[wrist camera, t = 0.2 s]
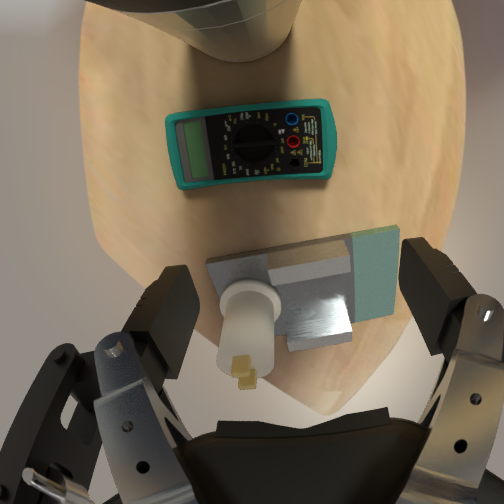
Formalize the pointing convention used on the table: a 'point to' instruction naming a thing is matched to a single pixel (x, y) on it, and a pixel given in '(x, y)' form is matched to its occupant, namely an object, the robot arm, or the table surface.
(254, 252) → the housing
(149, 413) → the robot arm
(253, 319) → the plug
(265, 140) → the digital multimeter
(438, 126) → the table surface
